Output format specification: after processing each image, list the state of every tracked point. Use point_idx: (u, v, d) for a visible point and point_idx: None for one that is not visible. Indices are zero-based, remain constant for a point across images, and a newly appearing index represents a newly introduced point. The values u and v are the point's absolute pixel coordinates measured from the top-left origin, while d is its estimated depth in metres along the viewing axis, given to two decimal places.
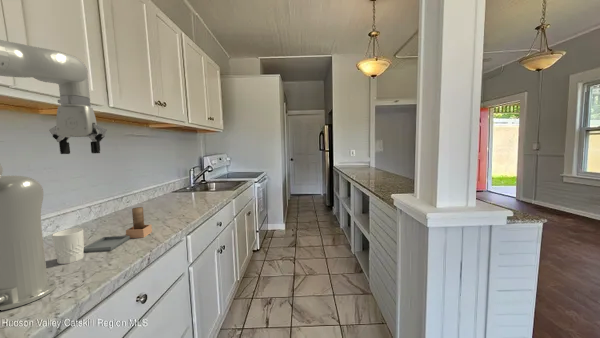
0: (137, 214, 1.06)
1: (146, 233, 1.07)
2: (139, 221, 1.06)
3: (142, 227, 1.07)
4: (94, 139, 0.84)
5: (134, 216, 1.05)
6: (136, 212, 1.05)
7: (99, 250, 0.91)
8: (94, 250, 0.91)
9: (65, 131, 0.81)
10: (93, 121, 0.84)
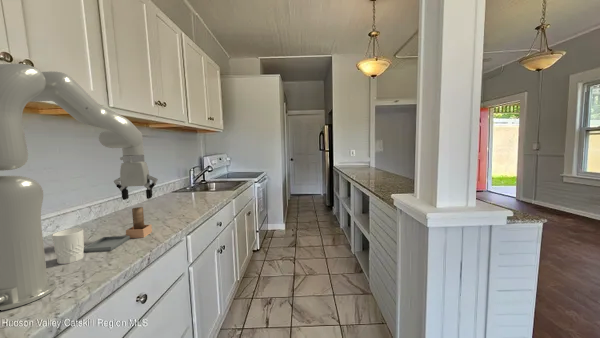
0: (137, 214, 1.06)
1: (146, 233, 1.07)
2: (139, 221, 1.06)
3: (142, 227, 1.07)
4: (148, 188, 1.06)
5: (134, 216, 1.05)
6: (136, 212, 1.05)
7: (99, 250, 0.91)
8: (94, 250, 0.91)
9: (127, 183, 1.04)
10: (147, 173, 1.06)
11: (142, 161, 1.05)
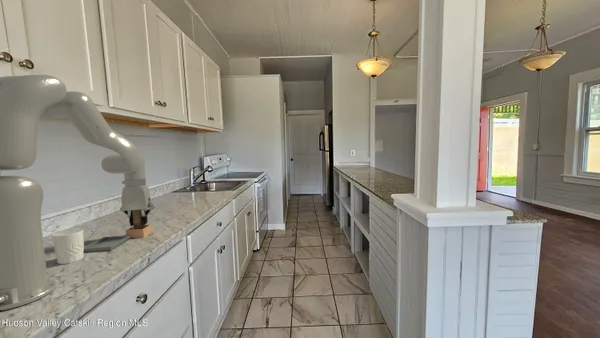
0: (137, 214, 1.06)
1: (146, 233, 1.07)
2: (139, 221, 1.06)
3: (142, 227, 1.07)
4: (144, 214, 1.06)
5: (134, 216, 1.05)
6: (136, 212, 1.05)
7: (99, 250, 0.91)
8: (94, 250, 0.91)
9: (128, 207, 1.04)
10: (148, 197, 1.07)
11: (144, 185, 1.06)
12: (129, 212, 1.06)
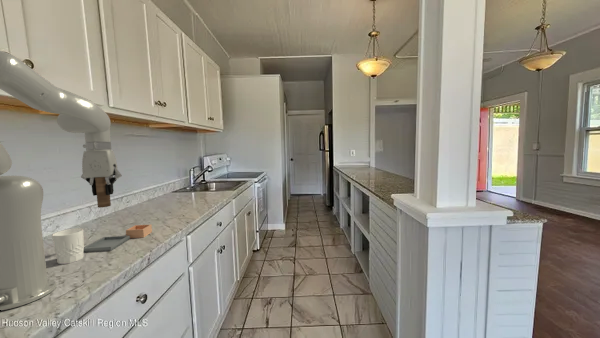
0: (100, 182, 0.93)
1: (146, 233, 1.07)
2: (103, 190, 0.94)
3: (107, 197, 0.95)
4: (108, 183, 0.94)
5: (97, 184, 0.93)
6: (99, 179, 0.93)
7: (99, 250, 0.91)
8: (94, 250, 0.91)
9: (90, 173, 0.92)
10: (114, 163, 0.95)
11: (108, 149, 0.94)
12: (91, 180, 0.93)
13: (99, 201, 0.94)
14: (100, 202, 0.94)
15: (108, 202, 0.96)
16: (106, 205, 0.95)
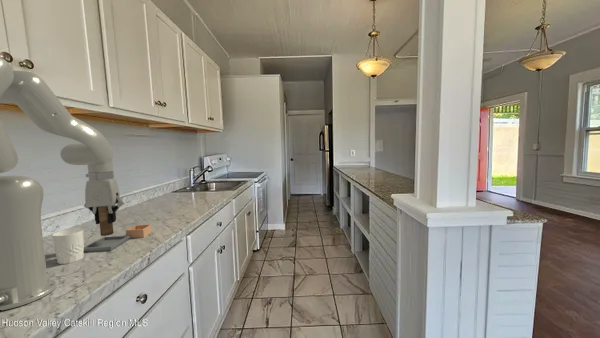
0: (103, 211, 0.94)
1: (146, 233, 1.07)
2: (106, 219, 0.95)
3: (110, 225, 0.96)
4: (111, 211, 0.95)
5: (100, 213, 0.94)
6: (102, 209, 0.94)
7: (99, 250, 0.91)
8: (94, 250, 0.91)
9: (93, 203, 0.93)
10: (116, 192, 0.96)
11: (110, 178, 0.95)
12: (94, 209, 0.94)
13: (102, 230, 0.95)
14: (103, 231, 0.95)
15: (111, 230, 0.97)
16: (109, 233, 0.96)
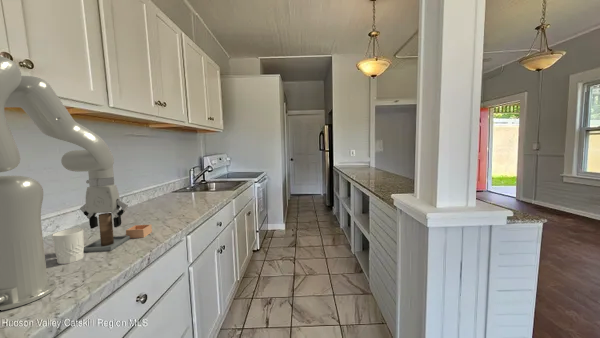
0: (104, 221, 0.94)
1: (146, 233, 1.07)
2: (107, 229, 0.95)
3: (110, 235, 0.96)
4: (116, 215, 0.95)
5: (100, 224, 0.94)
6: (103, 219, 0.94)
7: (99, 250, 0.91)
8: (94, 250, 0.91)
9: (93, 209, 0.93)
10: (116, 198, 0.96)
11: (111, 184, 0.95)
12: (90, 214, 0.94)
13: (102, 240, 0.95)
14: (103, 241, 0.95)
15: (111, 240, 0.97)
16: (109, 243, 0.96)
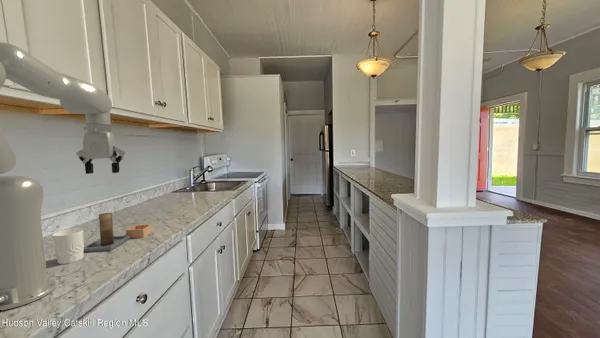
0: (104, 221, 0.95)
1: (146, 233, 1.07)
2: (107, 229, 0.95)
3: (110, 235, 0.96)
4: (114, 161, 0.97)
5: (101, 223, 0.94)
6: (103, 218, 0.94)
7: (99, 250, 0.91)
8: (94, 250, 0.91)
9: (90, 155, 0.94)
10: (113, 145, 0.97)
11: (108, 131, 0.96)
12: (86, 159, 0.96)
13: (102, 240, 0.95)
14: (103, 241, 0.95)
15: (111, 240, 0.97)
16: (109, 243, 0.96)
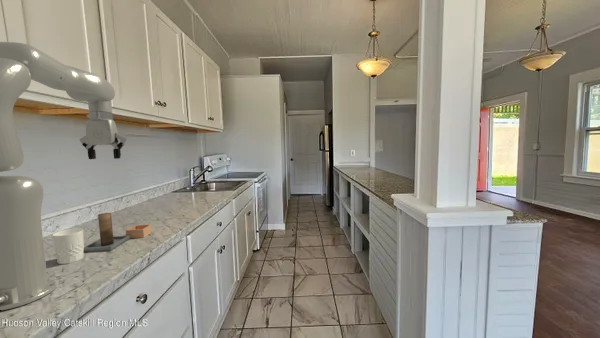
0: (103, 221, 0.94)
1: (146, 233, 1.07)
2: (106, 229, 0.95)
3: (110, 235, 0.96)
4: (116, 147, 1.02)
5: (100, 223, 0.94)
6: (102, 219, 0.94)
7: (99, 250, 0.91)
8: (94, 250, 0.91)
9: (93, 141, 0.99)
10: (115, 132, 1.02)
11: (110, 119, 1.01)
12: (89, 145, 1.01)
13: (102, 240, 0.95)
14: (103, 241, 0.95)
15: (111, 240, 0.97)
16: (109, 243, 0.96)
